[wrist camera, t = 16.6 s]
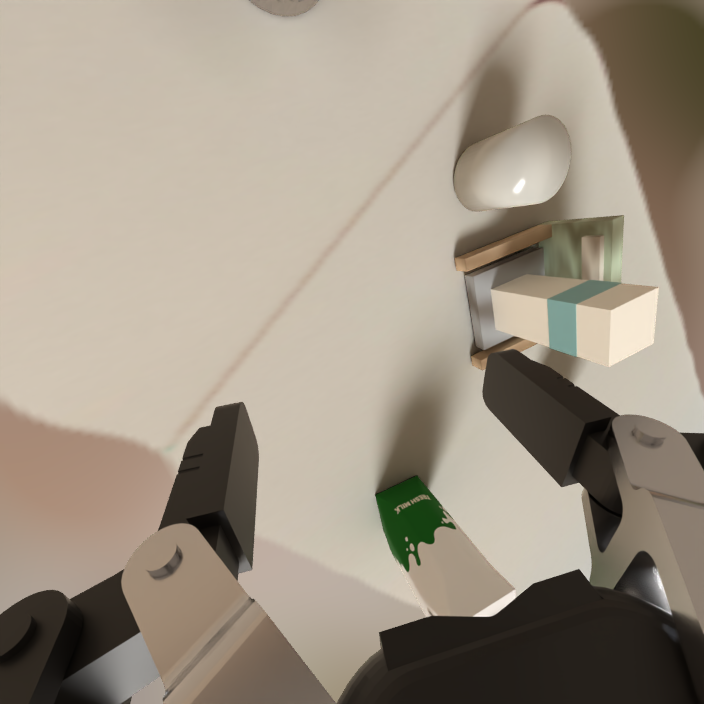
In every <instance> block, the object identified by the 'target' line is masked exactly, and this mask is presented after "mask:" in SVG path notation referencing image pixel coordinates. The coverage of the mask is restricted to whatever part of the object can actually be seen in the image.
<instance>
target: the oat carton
mask: <svg viewBox="0 0 704 704" xmlns="http://www.w3.org/2000/svg"><path fill="white" fill-rule="evenodd" d="M658 291H659V287H652V286H642V285H632V284H622V283H619V282H609V281H598V280H581V279H571V278H561V277H551V276H540V275H530V274H526V275H523V276H521V277H519V278H516V279H514V280H512V281H509V282H507V283H505V284H502V285H500V286H498V287H495V288H493V289H491V296H492V304H493V312H494V320H495V328H496V330H498V331H501V332H504V333H507V334H510V335H513V336H517V337H520V338H523V339H526V340H529V341H532V342H535V343H538V344H541V345H544V346H547V347H550V348H551V349H554V350H557V351H560V352H563V353H566V354H569V355H572V356H575V357H580V358H583V359H586V360H589V361H592V362H595V363H598V364H601V365H604V366H607V367H610V366H612V365H613V364H615V363H617V362H619V361H621V360H623V359H625V358H627V357H629V356H631V355H632V354H634V353H636V352H638V351H640V350H642V349H644V348H646V347H648V346H649V345H651V344H653V342H654V332H655V321H656V311H657V301H658Z"/></svg>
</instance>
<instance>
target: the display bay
mask: <svg viewBox="0 0 704 704" xmlns="http://www.w3.org/2000/svg"><path fill="white" fill-rule="evenodd" d="M623 226H624V215H621V216H609V217H596V218H584V219H572V220H559V221H547V222H544V223H542V224H539V225H537V226H534V227H532V228H529V229H527V230H524V231H522V232H519V233H517V234H514V235H512V236H509V237H507V238H504V239H502V240H499V241H497V242H494V243H492V244H489V245H487V246H484V247H482V248H479V249H477V250H474V251H472V252H469V253H467V254H464V255H462V256H459V257H456V258H455V264H456V270H457V271H466V272H468V271H470V270H473V269H475V268H477V267H480V266H482V265H485V264H487V263H490V262H492V261H494V260H497V259H499V258H502V257H504V256H507V255H509V254H511V253H514V252H516V251H519V250H521V249H524V248H526V247H528V246H531V245H533V244H536V243H538V242H539V248H530V249H528V250H525V251H523V252H521V253H518V254H516V255H513V256H511V257H509V258H506V259H504V260H501V261H499V262H496V263H494V264H492V265H489V266H487V267H484V268H482V269H479V270H477V271H475V272H472V273H470V274H467V275H465V280H466V287H467V293H468V299H469V305H470V312H471V318H472V324H473V331H474V337H475V343H476V347H478V348H480V349H483V350H482V351H480V352H478V353H476V354H474V355H472V356H471V359H472V365H473V366H475V367H477V368H479V369H481V370H484V369H486V363H487V358H488V356H489V355H490V354H491V353H494V352H499V351H505V350H510V349H515V350H517V351H519V352H521V351H524V350H526V349H528V348H530V347H532V346H534V345H536V344H538V343H535V342H532V341H529V340H526V339H523V338H520V337H517V336H513V335H510V334H507V333H504V332H501V331H498V330H496V328H495V320H494V312H493V304H492V296H491V289H493V288H495V287H498V286H500V285H502V284H505V283H507V282H509V281H512V280H514V279H516V278H519V277H521V276H523V275H526V274H530V275H540V276H551V277H561V278H571V279H581V280H598V281H609V282H619V283H621V269H622V248H623Z"/></svg>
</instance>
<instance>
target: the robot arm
mask: <svg viewBox="0 0 704 704" xmlns="http://www.w3.org/2000/svg"><path fill="white" fill-rule="evenodd" d="M249 1H251V2H252V3H253V4H255V5H256V6H257V7H259V8H261V9H263V10H265V11H267V12H269V13H271V14H275V15H279V16H296V15H299V14H302V13H305V12H307V11H308V10H309V9H311V8H312V7H313V6H315V5H316V3H317V2H318V1H319V0H249ZM483 399H484V402H485V404H486V406H487V407H488V409H489V410H490V411H491V412H492V413H493V414H494V415H495V416H496V417H497V418H498V419H499V420H500V422H501V423H502V424H503V425H504V426H505V427H506V428H507V429H508V430H509V431H510V432H511V433H512V434H513V436H514V437H515V438H516V439H517V440H518V441H519V442H520V443H521V444H522V445H523V446H524V447H525V448H526V450H527V451H528V452H529V453H530V454H531V455H532V456H533V457H534V458H535V459H536V460H537V461H538V462H539V463H540V465H541V466H542V467H543V468H544V469H545V470H546V471H547V472H548V473H549V474H550V475H551V476H552V477H553V479H554V480H555V481H556V482H557V483H558V484H559V485H560V486H561V487H564V486H568V485H572V484H575V483H580V484H581V485H582V486H583V487H584V489H583V491H582V503H583V509H584V516H585V522H586V528H587V534H588V540H589V546H590V552H591V559H592V569H591V575H590V582H589V581H588V580H587V579H586V577H585V576H584V575H583V573H582V572H581V571H580V570H579V569H578V570H575V571H572V572H568V573H565V574H562V575H559V576H556V577H553V578H550V579H546V580H543V581H540V582H537V583H534V584H532V585H531V586H530V587H529V588H527V589H526V590H525V591H524V592H523V593H521V594H520V595H519V596H518V597H517V598H515V599H514V600H513V601H512V602H510V603H509V604H508V605H507V606H506V607H504V608H503V609H502V610H501V611H499V612H498V613H497V614H495V615H493V616H490V617H470V616H429V617H426V618H423V619H420V620H417V621H414V622H410V623H407V624H404V625H401V626H398V627H395V628H392V629H388V630H385V631H382V632H379V636H380V645H381V649H380V650H379V651H378V652H376V653H375V654H374V655H372V656H371V657H370V658H369V659H368V660H367V661H366V662H365V663H364V664H363V665H362V666H361V667H360V668H359V669H358V671H357V672H356V673H355V675H354V676H353V677H352V679H351V680H350V681H349V683H348V684H347V686H346V688H345V689H344V691H343V693H342V695H341V696H340V698H339V700H338V702H337V704H704V433H679V432H678V431H677V430H675V429H673V428H672V427H670V426H668V425H667V424H665V423H662V422H660V421H658V420H655V419H652V418H649V417H645V416H640V415H621V416H620V415H618V414H617V413H615V412H614V411H613V410H611V409H610V408H608V407H607V406H605V405H604V404H602V403H601V402H599V401H598V400H597V399H595V398H594V397H592V396H591V395H589V394H588V393H586V392H585V391H583V390H582V389H580V388H579V387H578V386H576V387H575V386H574V384H573V383H572V382H570V381H569V380H567V379H566V378H564V379H563V376H561V375H560V374H559V373H557V372H556V371H554V370H553V369H551V368H550V367H548V366H545V365H543V364H540V363H538V362H535V361H533V360H530V359H529V358H527V357H526V356H525V355H523V354H522V353H520V352H519V351H517V350H515V349H510V350H505V351H499V352H494V353H491V354H490V355H489V356H488V358H487V363H486V370H485V377H484V384H483ZM258 464H259V452H258V445H257V440H256V437H255V434H254V431H253V428H252V425H251V422H250V419H249V416H248V413H247V410H246V407H245V405H244V403H243V402H239V403H234V404H229V405H224V406H219V407H216V408H215V411H214V414H213V418H212V422H211V426H206V427H201V428H199V429H198V430H197V432H196V433H195V434H194V435H193V437H192V438H191V439H190V440H189V441H188V443H187V446H186V449H185V452H184V455H183V461H181V464H180V467H179V470H178V474H177V476H176V479H175V482H174V485H173V488H172V491H171V494H170V497H169V500H168V503H167V506H166V509H165V512H164V515H163V518H162V521H161V524H160V527H159V529H158V531H157V532H156V533H154V534H153V535H151V536H150V537H149V538H147V539H146V540H145V541H144V542H143V543H142V544H141V545H140V546H139V547H138V548H137V549H136V550H135V552H134V553H133V554H132V556H131V557H130V559H129V560H128V562H127V565H126V566H125V569H123V570H122V571H120V572H119V573H117V574H115V575H114V576H112V577H110V578H108V579H106V580H104V581H103V582H101V583H99V584H97V585H95V586H93V587H92V588H90V589H88V590H86V591H84V592H82V593H80V594H79V595H77V596H75V597H73V598H71V599H69V598H67V597H66V596H65V595H64V594H63V593H61V592H59V591H56V590H46V591H42V592H38V593H35V594H33V595H30V596H28V597H26V598H24V599H22V600H21V601H19V602H17V603H16V604H14V605H13V606H11V607H10V608H9V609H7V610H6V611H4V612H3V613H2V614H1V615H0V704H130V702H131V698H132V696H133V695H134V694H135V693H137V692H138V691H140V690H141V689H143V688H144V687H145V686H147V685H148V684H150V683H151V682H152V681H154V680H155V679H157V678H158V677H161V679H162V682H163V684H164V687H165V695H164V696H163V704H336V702H335V701H334V700H333V699H332V697H331V696H330V695H329V693H328V692H327V691H326V690H325V688H324V687H323V686H322V684H321V683H320V682H319V680H317V678H316V677H315V675H314V674H313V673H312V671H311V670H310V669H309V668H308V666H307V665H306V664H305V662H303V660H302V659H301V657H300V656H299V655H298V653H297V652H296V651H295V650H294V648H293V647H292V646H291V644H290V643H289V642H288V641H287V639H286V638H285V637H284V635H283V634H282V633H281V632H280V630H279V629H278V628H277V626H276V625H275V624H274V622H273V621H272V620H271V619H270V617H269V616H268V615H267V614H266V612H265V611H264V610H263V609H262V607H261V606H260V605H259V604H258V603H257V602H256V601H255V600H254V599H251V598H250V597H249V596H248V594H247V593H246V592H245V591H244V589H243V588H242V587H241V585H240V584H239V583H238V574H239V573H242V572H246V571H250V570H252V564H253V548H254V531H255V514H256V498H257V481H258Z"/></svg>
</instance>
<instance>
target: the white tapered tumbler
mask: <svg viewBox="0 0 704 704" xmlns="http://www.w3.org/2000/svg"><path fill="white" fill-rule="evenodd" d="M570 161H571V143H570V138H569V134H568V132H567V130H566V128H565V126H564V125H563V123H562V122H561V121H560V120H559V119H557V118H555V117H554V116H550V115H541V116H538V117H535V118H533V119H531V120H528V121H526V122H524V123H521V124H519V125H517V126H514V127H512V128H510V129H507V130H505V131H503V132H500V133H498V134H496V135H493V136H491V137H489V138H486V139H484V140H482V141H479V142H477V143H475V144H473V145H471V146H470V147H468V148H467V149H466V150H465V151H464V152H463V154H462V155H461V157H460V158H459V160H458V163H457V165H456V169H455V174H454V187H455V192H456V195H457V197H458V199H459V201H460V202H461V204H462V205H463V206H464V207H465V208H467V209H469V210H471V211H475V212H480V211H488V210H495V209H503V208H510V207H518V206H526V205H533V204H539V203H543V202H545V201H547V200H549V199H550V198H551V197H553V196H554V195H555V194H556V192H557V191H558V190H559V189H560V187H561V186H562V184H563V182H564V180H565V178H566V176H567V173H568V170H569V166H570Z"/></svg>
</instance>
